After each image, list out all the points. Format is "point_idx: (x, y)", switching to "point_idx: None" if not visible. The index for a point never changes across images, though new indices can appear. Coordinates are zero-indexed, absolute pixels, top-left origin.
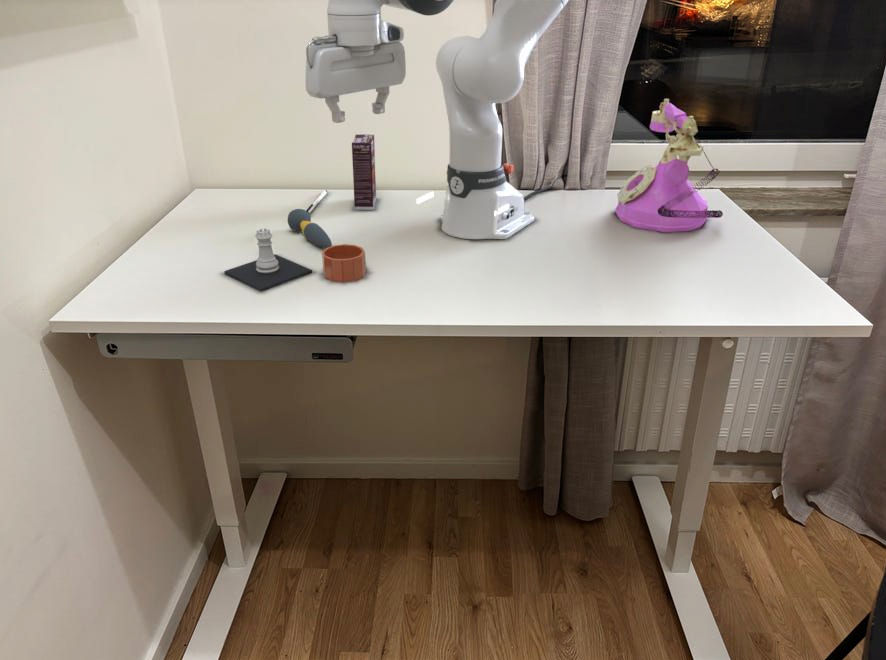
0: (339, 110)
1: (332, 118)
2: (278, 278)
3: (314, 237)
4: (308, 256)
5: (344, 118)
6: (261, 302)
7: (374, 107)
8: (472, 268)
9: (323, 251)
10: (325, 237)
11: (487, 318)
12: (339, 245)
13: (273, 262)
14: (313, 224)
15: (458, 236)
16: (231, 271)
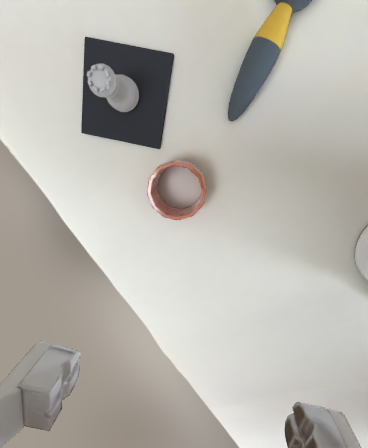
0: (4, 436)
1: (31, 351)
2: (114, 129)
3: (237, 80)
4: (201, 102)
5: (66, 393)
6: (66, 155)
7: (305, 443)
8: (266, 297)
9: (162, 166)
10: (239, 103)
11: (170, 345)
12: (192, 171)
13: (119, 107)
14: (265, 50)
15: (357, 248)
16: (90, 48)
